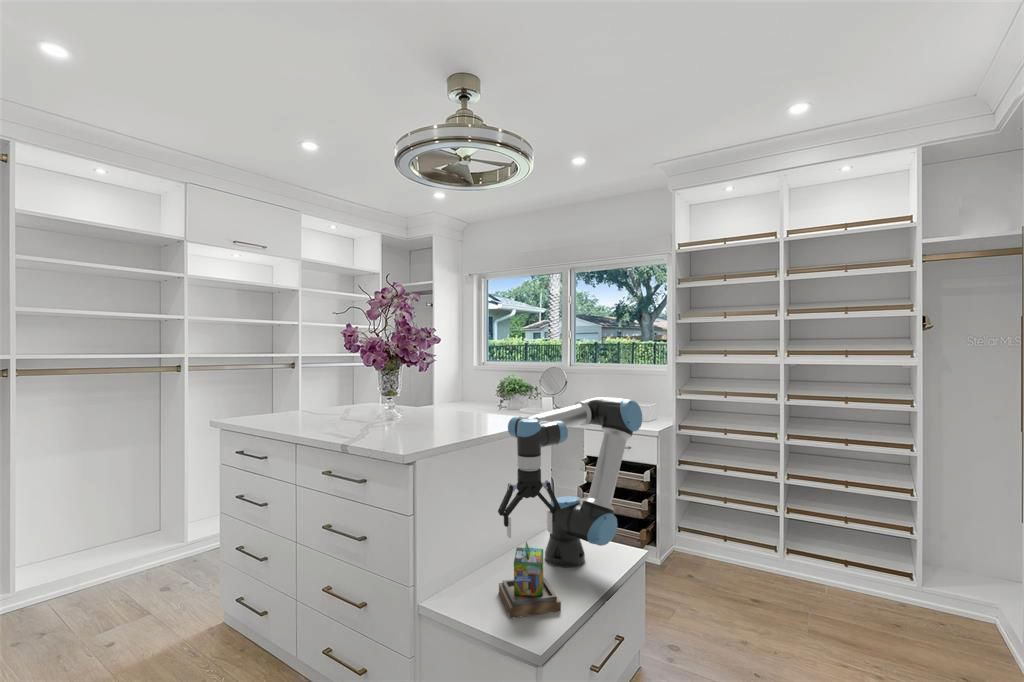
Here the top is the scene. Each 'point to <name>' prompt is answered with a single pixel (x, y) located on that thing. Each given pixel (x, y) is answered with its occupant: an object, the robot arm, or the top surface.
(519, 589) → the chalk box
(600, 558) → the top surface
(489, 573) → the top surface
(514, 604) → the wooden tray
